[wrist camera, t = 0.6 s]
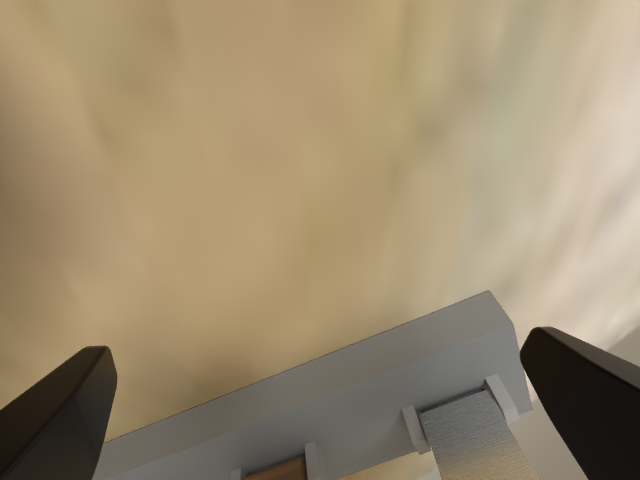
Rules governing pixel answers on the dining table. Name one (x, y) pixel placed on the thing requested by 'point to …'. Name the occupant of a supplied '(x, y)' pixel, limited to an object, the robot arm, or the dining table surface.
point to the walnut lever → (282, 470)
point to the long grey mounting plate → (337, 404)
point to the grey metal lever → (474, 440)
